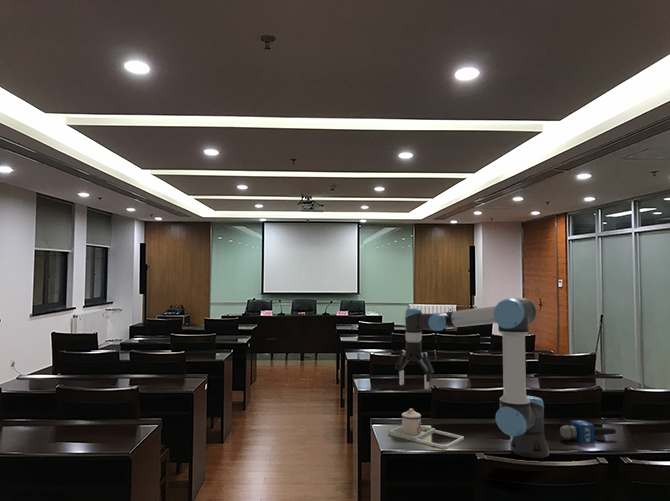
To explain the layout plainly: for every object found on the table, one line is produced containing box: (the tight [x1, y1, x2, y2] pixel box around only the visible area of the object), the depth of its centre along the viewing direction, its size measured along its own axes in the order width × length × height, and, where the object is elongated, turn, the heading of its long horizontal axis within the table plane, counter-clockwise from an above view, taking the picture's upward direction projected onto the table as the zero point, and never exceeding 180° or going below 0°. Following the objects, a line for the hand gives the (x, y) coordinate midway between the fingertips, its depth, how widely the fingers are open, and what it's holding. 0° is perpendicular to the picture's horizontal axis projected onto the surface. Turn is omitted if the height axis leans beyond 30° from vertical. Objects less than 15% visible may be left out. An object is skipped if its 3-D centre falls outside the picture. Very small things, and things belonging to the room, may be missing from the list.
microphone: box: [559, 419, 617, 444], centre depth 220 cm, size 8×8×25 cm
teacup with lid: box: [401, 408, 422, 437], centre depth 228 cm, size 12×9×12 cm
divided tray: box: [388, 424, 465, 450], centre depth 223 cm, size 29×17×2 cm, turn 49°
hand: (414, 386), depth 229 cm, fingers open, 13 cm apart
